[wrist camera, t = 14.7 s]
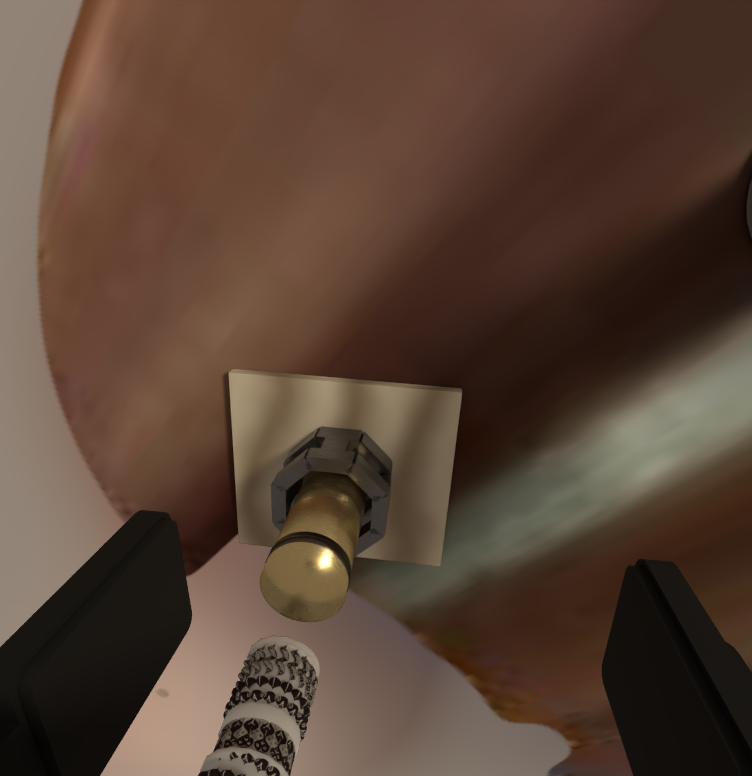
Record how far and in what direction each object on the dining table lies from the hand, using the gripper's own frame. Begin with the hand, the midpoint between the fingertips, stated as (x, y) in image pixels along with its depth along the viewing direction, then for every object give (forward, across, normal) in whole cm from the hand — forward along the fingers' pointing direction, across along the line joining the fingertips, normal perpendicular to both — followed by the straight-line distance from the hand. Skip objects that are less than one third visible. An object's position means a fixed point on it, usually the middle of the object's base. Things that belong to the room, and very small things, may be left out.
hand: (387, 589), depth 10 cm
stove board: (+30, +7, +16) cm, 35 cm away
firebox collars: (+30, +7, +16) cm, 35 cm away
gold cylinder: (+29, +7, +16) cm, 34 cm away
